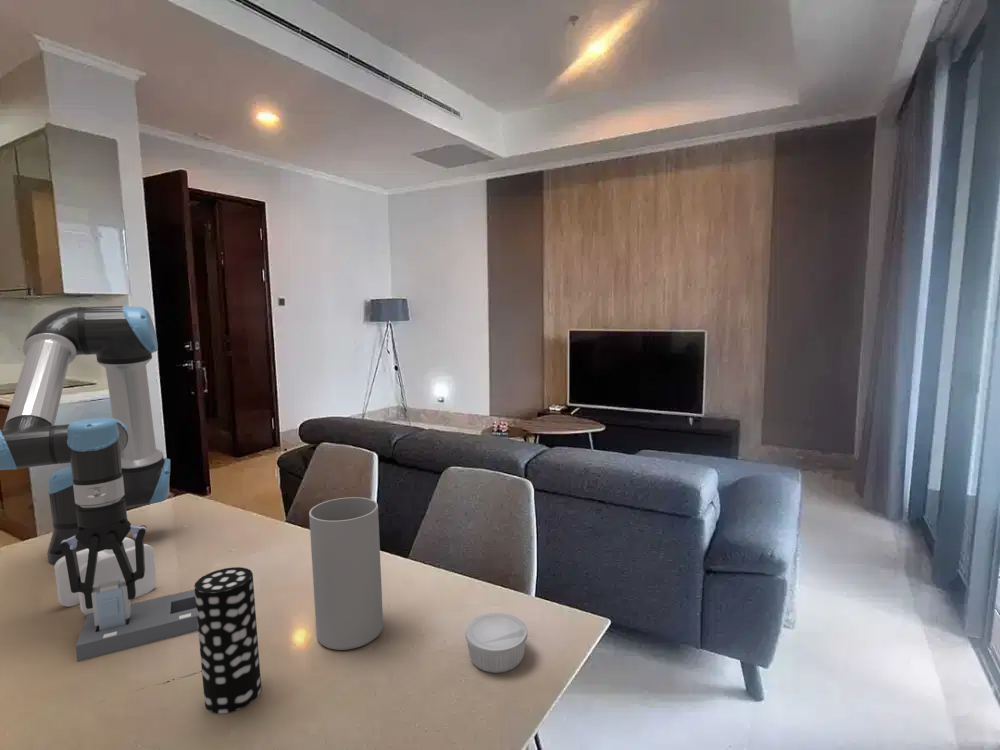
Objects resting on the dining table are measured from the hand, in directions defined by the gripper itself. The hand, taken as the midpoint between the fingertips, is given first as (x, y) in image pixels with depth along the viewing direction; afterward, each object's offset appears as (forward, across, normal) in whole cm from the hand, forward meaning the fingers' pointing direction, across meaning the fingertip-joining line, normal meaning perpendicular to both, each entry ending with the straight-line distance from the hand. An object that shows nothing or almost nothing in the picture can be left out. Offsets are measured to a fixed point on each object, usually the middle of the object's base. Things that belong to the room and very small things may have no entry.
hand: (113, 618), depth 105 cm
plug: (+4, 0, 0) cm, 4 cm away
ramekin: (+4, +61, -42) cm, 74 cm away
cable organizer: (+4, -3, +18) cm, 19 cm away
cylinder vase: (+4, +40, -21) cm, 45 cm away
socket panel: (+4, +6, 0) cm, 7 cm away
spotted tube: (+4, +19, -29) cm, 35 cm away
